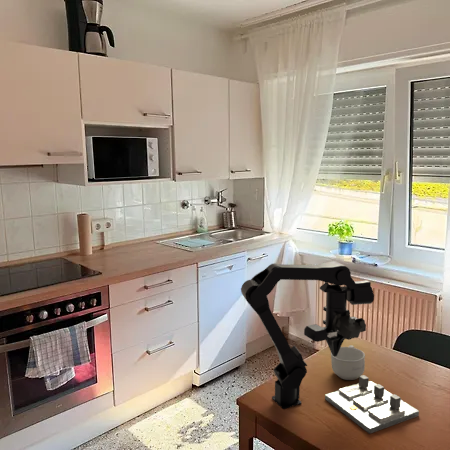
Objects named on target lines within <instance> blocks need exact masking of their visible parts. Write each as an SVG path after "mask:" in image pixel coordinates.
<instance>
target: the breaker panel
mask: <svg viewBox="0 0 450 450" xmlns="http://www.w3.org/2000/svg"><path fill="white" fill-rule="evenodd" d="M374 385H377V383H375V382H373V381H371V380H370V381H368V387H367V388H362V387H360V386H359V382H358V383H356V384H352V385H349V386H345V387H342V388H339V389H338V390H335V391H333V392H329V393H326V394H324V398H325V399H324V400H326V402H328V403H330V405H332V406H333V407H334V408H336V409H337V410H339V412H341V413H342V414H344V416H345V417H347V418H349V419H350V420H351V421H353V423H355V424H356V425H357V426H358V427H360V428H361V429H362V430H364V431H365V432H366V433H368V434H373V433H376V432H379V431H381V430H383V429H386V428H389V427H392V426H395V425H397V424H401V423H403V422H406V421H409V420H412V419H414V418H417V417H419V416H420V415H419V414H420V411H419V410H418V409H417V408H415V407H413V406H412V405H410V404H409V403H407V402H406V401H404V400H402V399H401V401H400V408H398V409H394V408H392V407H391V406H390V396H391V395H394V394H393V393H391V392H389V391H387V390H386V389H385V388H384V397H382V398H378V397H376V396H375V395H374Z"/></svg>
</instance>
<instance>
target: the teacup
mask: <svg viewBox="0 0 450 450" xmlns="http://www.w3.org/2000/svg"><path fill="white" fill-rule="evenodd" d="M365 357H366V353H365V352H364V351H363V350H361V349H359V348H356V347H355V346H354V345H348V346H341V347H340V350H339V352H338V355H337V356H335V357H334V356H333V355H332V353H331V352H330V362H331V369H332V371H333V373H334V374H335V375H337V376H338V378H340V379H342V380H345V381H354V380H358V379H359V376H362V375H364V373H365V367H366V366H365V364H366V363H365V362H366V361H365Z"/></svg>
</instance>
